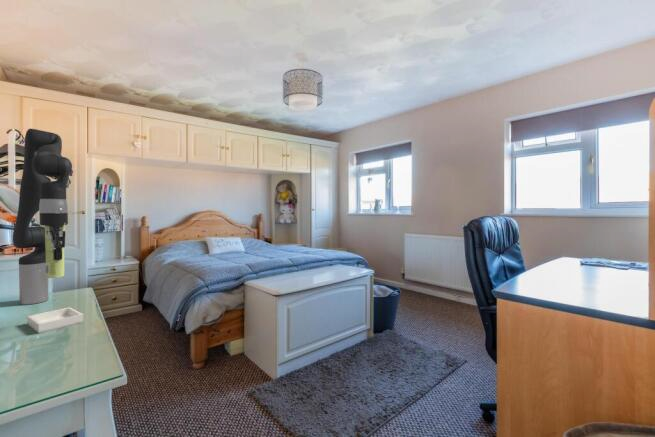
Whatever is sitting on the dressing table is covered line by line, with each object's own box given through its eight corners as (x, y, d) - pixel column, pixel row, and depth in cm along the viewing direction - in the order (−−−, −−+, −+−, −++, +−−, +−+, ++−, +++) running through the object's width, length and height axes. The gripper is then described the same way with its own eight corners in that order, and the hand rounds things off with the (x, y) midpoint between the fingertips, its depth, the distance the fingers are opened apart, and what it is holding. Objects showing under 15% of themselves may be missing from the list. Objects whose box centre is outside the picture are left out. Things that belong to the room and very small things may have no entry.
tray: (27, 324, 108) (27, 316, 108) (70, 314, 118) (69, 307, 117) (38, 333, 100) (38, 324, 100) (83, 322, 110) (83, 314, 110)
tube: (67, 274, 113) (65, 222, 112) (66, 276, 109) (65, 222, 108) (46, 276, 109) (44, 222, 108) (45, 279, 105) (43, 223, 105)
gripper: (33, 212, 109) (35, 259, 109) (46, 211, 101) (47, 262, 101) (60, 212, 115) (61, 256, 116) (74, 211, 107) (75, 259, 108)
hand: (55, 259), depth 108 cm, fingers closed on tube, 5 cm apart
